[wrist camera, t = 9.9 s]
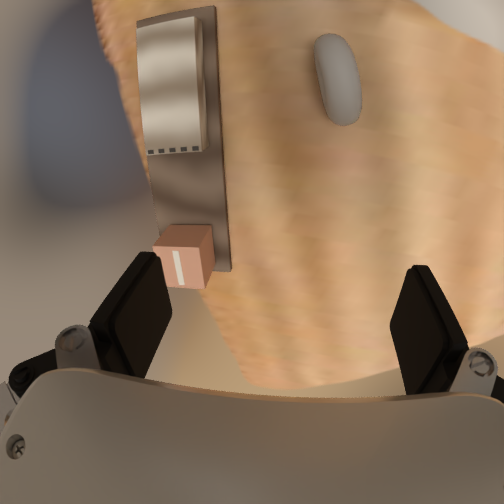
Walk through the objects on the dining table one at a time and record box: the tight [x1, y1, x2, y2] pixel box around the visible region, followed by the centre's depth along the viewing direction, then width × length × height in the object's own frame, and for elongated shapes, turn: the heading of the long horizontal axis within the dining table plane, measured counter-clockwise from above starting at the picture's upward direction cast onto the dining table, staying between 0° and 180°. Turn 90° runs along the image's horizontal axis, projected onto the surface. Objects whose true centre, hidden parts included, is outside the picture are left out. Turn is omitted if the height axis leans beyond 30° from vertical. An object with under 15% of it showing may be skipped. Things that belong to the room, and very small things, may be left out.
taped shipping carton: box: [153, 225, 216, 289], centre depth 39 cm, size 6×6×6 cm
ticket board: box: [136, 6, 232, 272], centre depth 34 cm, size 36×10×4 cm, turn 2°
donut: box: [314, 34, 362, 126], centre depth 25 cm, size 10×4×10 cm, turn 12°
